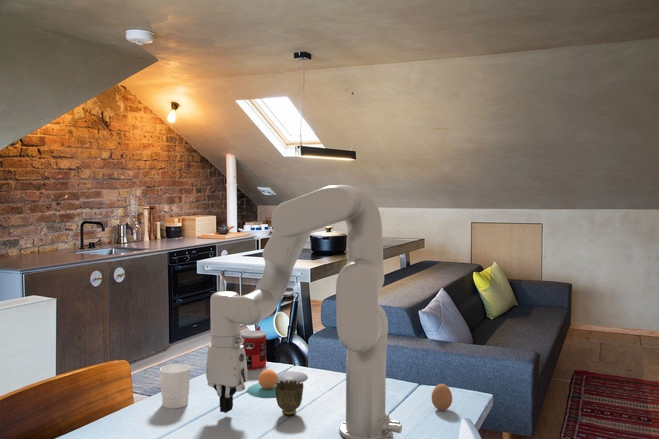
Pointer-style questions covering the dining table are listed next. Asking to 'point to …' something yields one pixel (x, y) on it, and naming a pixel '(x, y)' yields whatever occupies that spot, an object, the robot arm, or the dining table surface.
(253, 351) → the canned food
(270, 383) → the ball
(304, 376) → the disc
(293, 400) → the cup
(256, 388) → the disc
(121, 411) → the dining table surface
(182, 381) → the white cup
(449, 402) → the egg
